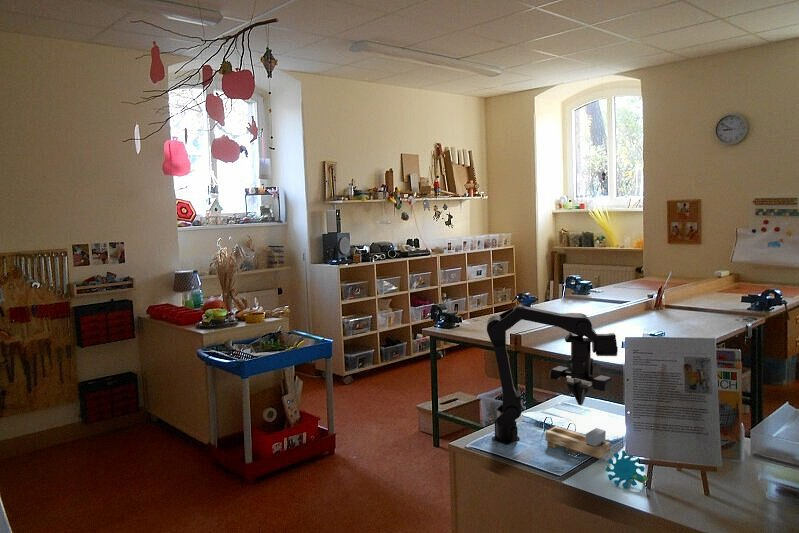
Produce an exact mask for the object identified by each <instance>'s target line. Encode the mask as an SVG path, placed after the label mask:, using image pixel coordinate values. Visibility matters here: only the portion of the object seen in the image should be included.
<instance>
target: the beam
mask: <svg viewBox="0 0 799 533" xmlns="http://www.w3.org/2000/svg"><path fill="white" fill-rule="evenodd" d="M544 440H545V441H546V442H547V444H546V445H547V447H550V448H554V449H556V448H558V447H559V446H562V447H564V448H566V455H568V454H570V455H573V456H576V455H578V454H580V453H582V454H585V455H588V456H591V457H594V458H597V459H601V458H603V457H605V456H606V455H607V454H609V453H610V452H611V442H610V441H606V440H604V441H603V442H601V446H597V445H596V446H593V445H590V444H587V443H586V434H583V433H580V432H577V431H574V430H571V429H568V428H565V427H562V426H559V425H555V426H552V427H551V428H550V429H548V430H546V431H545V438H544ZM570 455H569V456H570ZM580 455H581V454H580ZM573 456H572V457H573Z"/></svg>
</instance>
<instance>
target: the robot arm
mask: <svg viewBox="0 0 799 533" xmlns="http://www.w3.org/2000/svg"><path fill="white" fill-rule="evenodd" d="M520 321H528V322H533V323H537V324H543V325H547V326H552V327H556V328H560V329H562V330H564V331H566V332H569V333H568V334H567V335H565V337H564V342H565V343H570V358H568V363H569V364H570V367H565V366H563V365H562V366H561V365H558V366H555V367H553V368H552V369H550V371H549V378H550V379H551V380H556V381H558V380H560V379H561V377H562V378H566V382H565V385H567V386H568V387H569V388H568V389H570V391H571V393H572V394H573V397H574V398H575V400H576V402H577V405H579V406H582V405H583V404H584V403H585V402H584V401H585V400H586V397H587V394H588V392H589V391H590V389H591V388H593V389H594V390H596V391H600V392H606V391H607V390H609V389H611V388H614V380H613V378H612V377H610V376H605V375H600V372H601V366H602V363H601V364H600V363H597V362H596V363H595V362H594V358H593V357H591V355H592V354H591V350H592V353H593V354H595V355H596V357H617V356H618V352H619V348H618V343H617V335H616V334H615V333H613V332H610V333H597V332H596V330H595V329H593V324H592V322H591V320H590V318H589V317H588V316H587V315H586V314H584V313H581V312H579V313H578V312H567V313H563V312H562V313H560V312H554V311H549V310H545V309H540V308H536V307H531V306H525V305H523V304H516V305H515V306H513V307H512V308H510V309H508V310H506V311H503V312H502V313H500V314H499V315H492V316H490V317H488V320H487V323H486V332H487V335H488V338H489V341H490V342H491V344H492V346H493V350H494V354H495V359H496V364H497V370H498V376H499V380H500V384H501V392H502V395H501V396H502V403H501V404H500V405H499V406H498V407H497V408H496V409H495V418H494V436H492V437H491V440H493V441H496V442H498V443H500V444H504V445H507V446H508V445H511V444H513V443H514V442H517V441H518V440H520V439H521V438H520V436H518V434H519V432H518V430H519V428H518V426H517V421H516V420H517V419H519V417H521V415H522V410H524V404H523V400H522V396H521V390H520V389H518V390H517V389H516V388H515V386H514V382H513V376H512V371H511V370H512V369H511V365H510V360H509V354H508V350H507V332H506V331H508V330H509V329H511V328H513V327H514V326H515V325H516V324H517V323H518V322H520ZM595 374H596V375H598V376H596V377H595V376H594V375H595Z"/></svg>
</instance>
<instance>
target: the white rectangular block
mask: <svg viewBox="0 0 799 533" xmlns="http://www.w3.org/2000/svg"><path fill="white" fill-rule="evenodd" d="M585 435H586V443H587V444H590V445H593V446H596V445H597V446H601V442H603V441H606V430H605V429H601V428H599V427H594V429H592V430H590V431H588V432H587V433H585Z"/></svg>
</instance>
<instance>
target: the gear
mask: <svg viewBox="0 0 799 533" xmlns="http://www.w3.org/2000/svg"><path fill="white" fill-rule="evenodd" d="M625 451H626V450H621V457H620V454H619V453H618V452H614V453H613V457H614V458H615V463H614V460H613V459H612V458H608V459H607V463H608V464H610V465H611V466H613V468H612V469H611V467H610V466H609V465H607V466H606V467H605V471H606V472H607V473H610V472H611V473H614V475H613V474H607V478H608V480H609V481H612V480H614V479H615V480H614V481H613V484H614V485H615V486H616V487H619V486H620V483H621V482H622V484H621V485H622V487H623V488H624V489H628V488H629V481H630V480H631V481H630V485H631V486H632V487H634V486H637V485H638V484H637V482H638V483H640V484H643V485H644V486H645V484H647V481H648V480H649V479H648V477H647V475H646V474H643V475H642V474H640V473H638V472H637V470H640V472H642V473H644V472H645V470H646V469H645V466H644V465H637V464H636V463H638V464H640V463H639V458H640V457H638V458H636V457H633V456H630V455H628V454H627V455H626V453H625ZM626 456H627V457H626ZM619 458H620V459H619ZM635 458H636V459H635ZM631 459H634V460H631ZM617 478H618V479H617ZM623 481H624V482H623Z"/></svg>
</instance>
